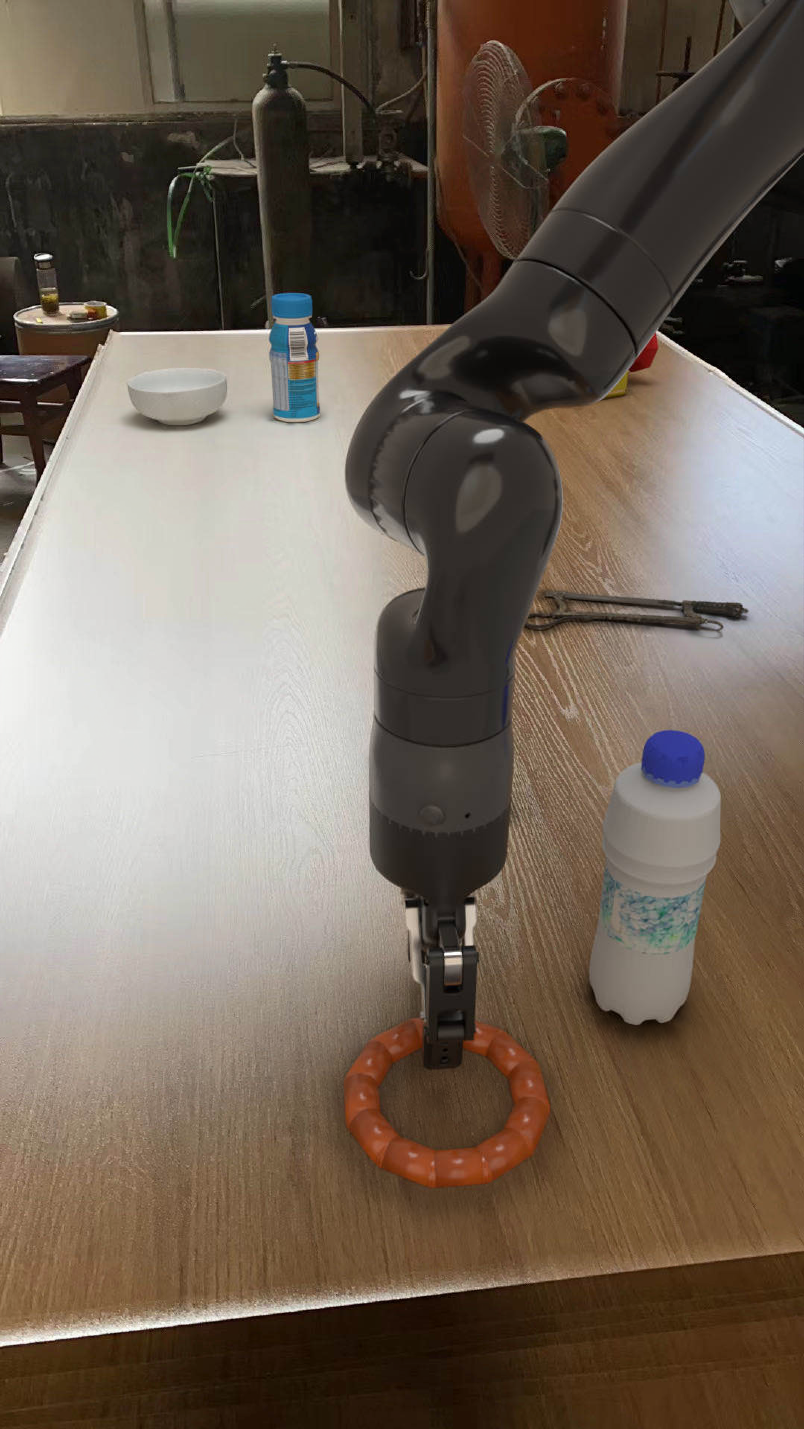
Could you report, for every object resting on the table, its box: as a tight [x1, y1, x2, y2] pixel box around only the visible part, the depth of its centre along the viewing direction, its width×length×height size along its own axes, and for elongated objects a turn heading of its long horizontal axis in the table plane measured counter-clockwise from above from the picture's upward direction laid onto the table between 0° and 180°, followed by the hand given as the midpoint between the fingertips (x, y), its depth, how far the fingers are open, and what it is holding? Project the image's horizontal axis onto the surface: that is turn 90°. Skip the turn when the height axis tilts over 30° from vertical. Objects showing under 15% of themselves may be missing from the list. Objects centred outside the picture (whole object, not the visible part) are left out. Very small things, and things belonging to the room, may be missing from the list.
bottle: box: [588, 729, 722, 1026], centre depth 65 cm, size 7×7×20 cm
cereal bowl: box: [126, 367, 228, 426], centre depth 187 cm, size 17×17×7 cm
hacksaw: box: [524, 590, 750, 632], centre depth 119 cm, size 24×10×2 cm, turn 76°
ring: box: [343, 1017, 551, 1189], centre depth 62 cm, size 12×12×2 cm
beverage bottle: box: [268, 292, 321, 423], centre depth 185 cm, size 8×8×20 cm
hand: (432, 1009), depth 65 cm, fingers open, 8 cm apart
